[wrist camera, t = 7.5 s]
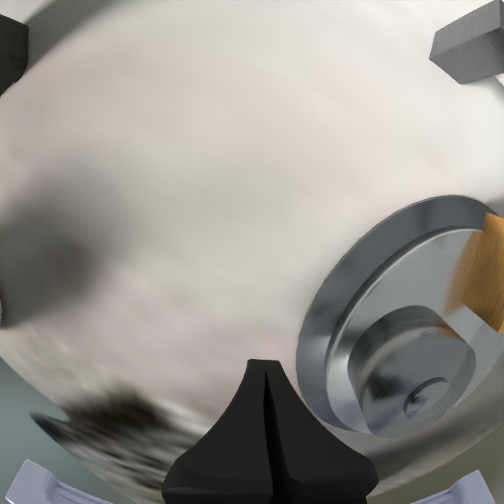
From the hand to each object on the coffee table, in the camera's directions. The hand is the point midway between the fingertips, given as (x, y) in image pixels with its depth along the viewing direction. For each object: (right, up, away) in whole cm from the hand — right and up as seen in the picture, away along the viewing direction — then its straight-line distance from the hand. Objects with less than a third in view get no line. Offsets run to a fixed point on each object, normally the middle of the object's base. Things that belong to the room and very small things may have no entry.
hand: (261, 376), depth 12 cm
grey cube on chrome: (+11, +16, -2) cm, 20 cm away
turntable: (+11, 0, +3) cm, 11 cm away
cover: (+7, 0, +1) cm, 8 cm away
